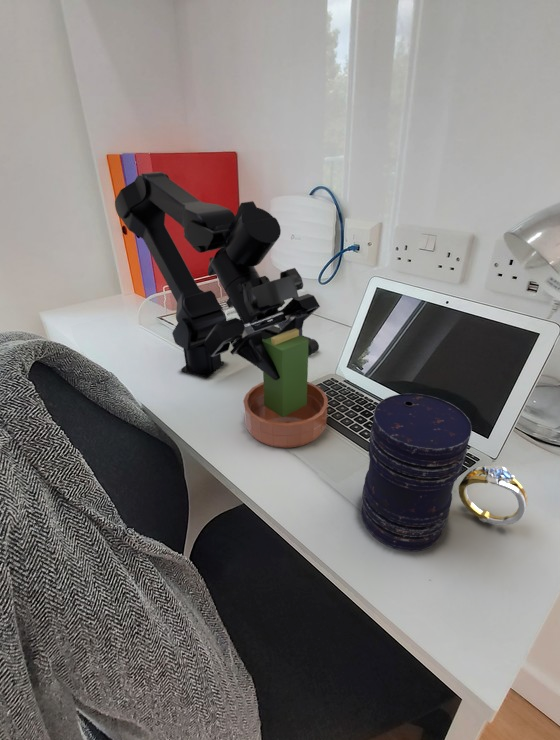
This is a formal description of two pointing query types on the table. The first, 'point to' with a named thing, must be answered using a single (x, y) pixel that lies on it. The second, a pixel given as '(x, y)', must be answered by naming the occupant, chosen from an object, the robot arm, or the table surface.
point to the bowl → (286, 419)
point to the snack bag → (287, 372)
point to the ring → (496, 477)
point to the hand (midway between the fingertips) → (291, 372)
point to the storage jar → (413, 469)
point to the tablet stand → (273, 330)
